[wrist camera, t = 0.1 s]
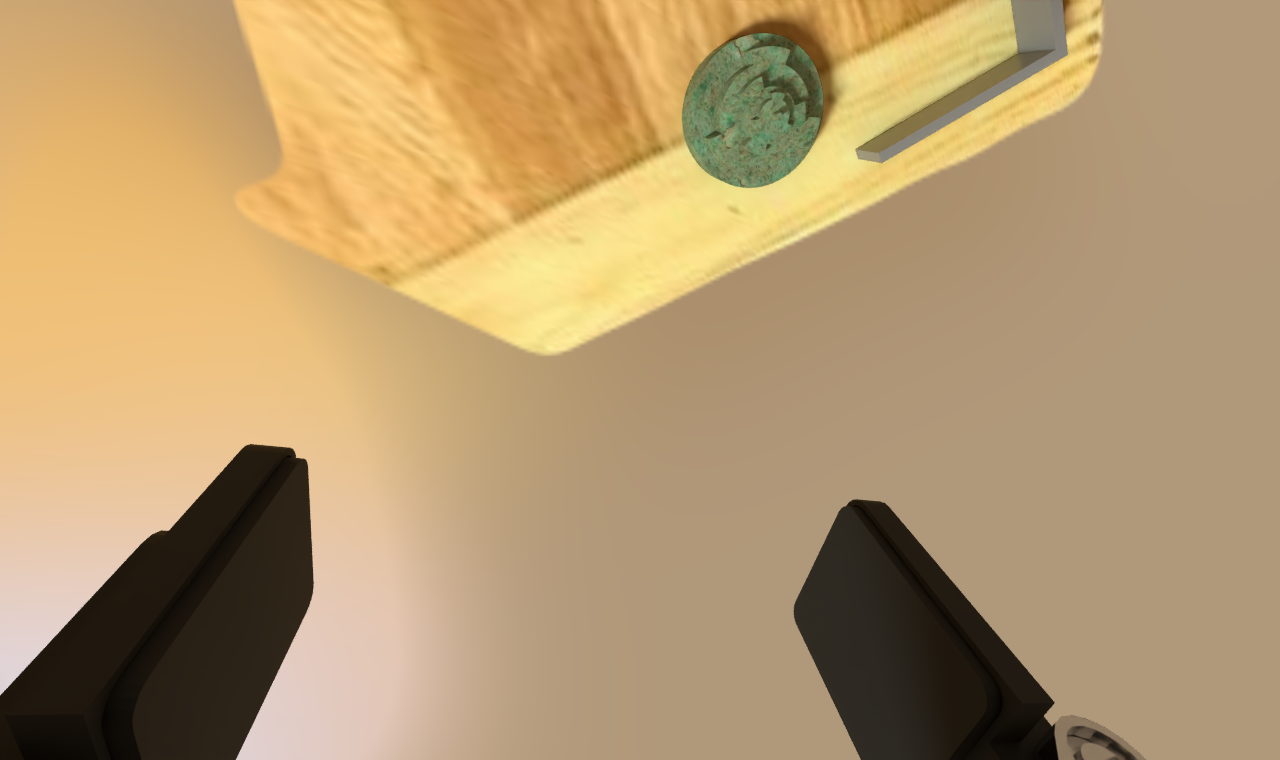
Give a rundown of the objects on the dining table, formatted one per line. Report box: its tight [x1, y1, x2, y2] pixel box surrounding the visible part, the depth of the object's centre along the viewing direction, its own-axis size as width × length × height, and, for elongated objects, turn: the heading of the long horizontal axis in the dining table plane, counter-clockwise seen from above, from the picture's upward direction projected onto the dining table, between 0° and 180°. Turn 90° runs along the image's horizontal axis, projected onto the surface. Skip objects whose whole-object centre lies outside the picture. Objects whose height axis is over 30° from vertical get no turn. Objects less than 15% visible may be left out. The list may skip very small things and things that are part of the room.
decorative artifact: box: [682, 33, 823, 188], centre depth 38 cm, size 10×7×10 cm
